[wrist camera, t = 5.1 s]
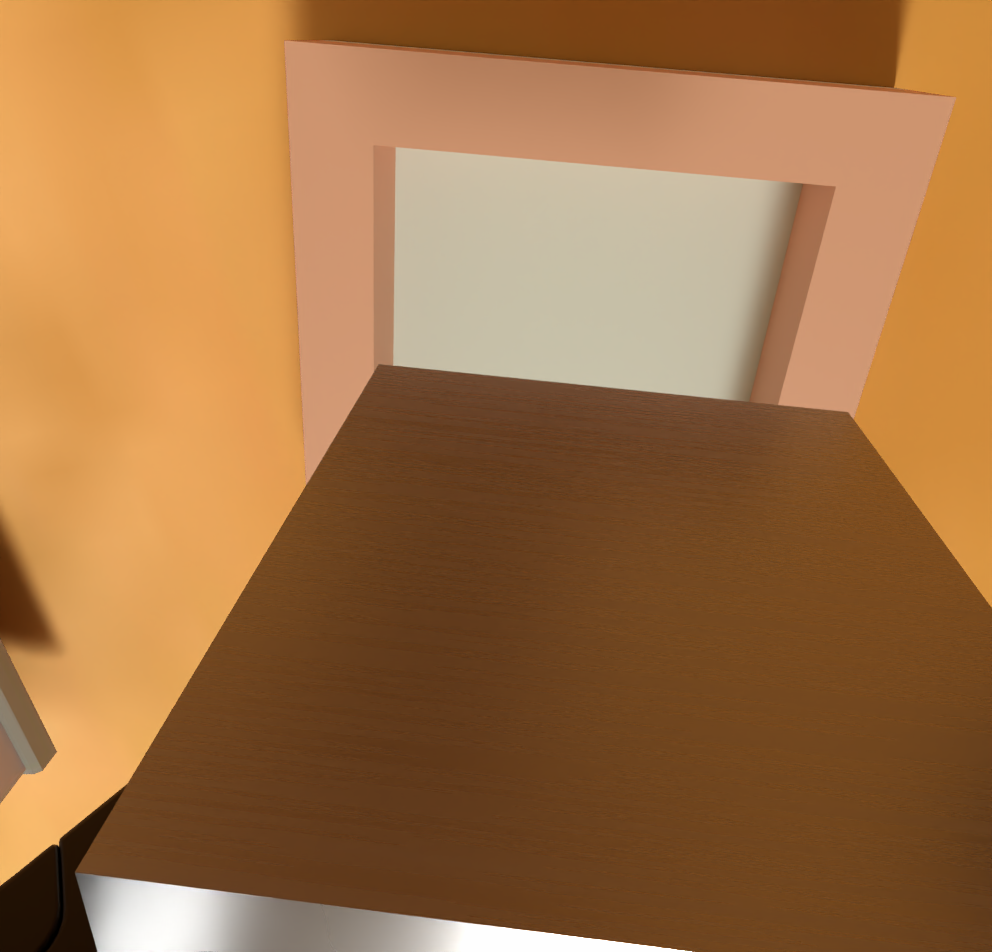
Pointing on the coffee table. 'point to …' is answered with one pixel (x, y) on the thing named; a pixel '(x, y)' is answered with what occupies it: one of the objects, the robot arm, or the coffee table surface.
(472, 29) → the coffee table surface
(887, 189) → the square tray
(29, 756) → the toy vehicle
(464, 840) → the grey metal box
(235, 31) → the coffee table surface
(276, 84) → the coffee table surface
